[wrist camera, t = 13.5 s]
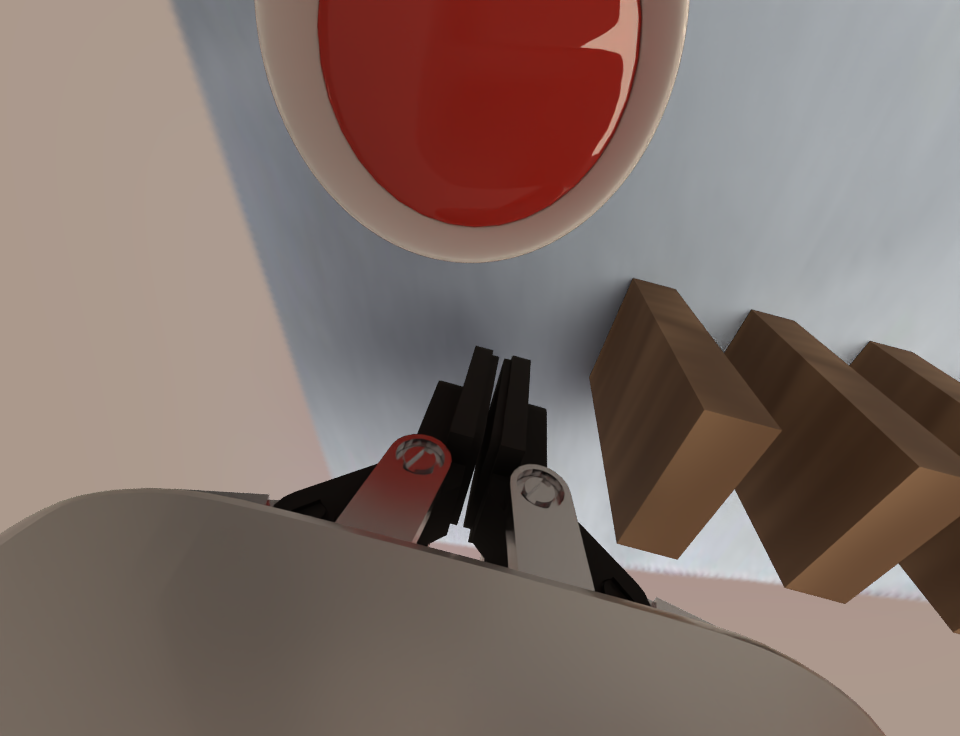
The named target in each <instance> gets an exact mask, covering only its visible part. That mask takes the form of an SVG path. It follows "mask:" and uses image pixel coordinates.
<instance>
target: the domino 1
mask: <svg viewBox="0 0 960 736" xmlns="http://www.w3.org/2000/svg"><path fill="white" fill-rule="evenodd" d="M589 379H590V385H591V391H592V397H593V403H594V409H595V415H596V421H597V427H598V433H599V439H600V445H601V451H602V458H603V464H604V470H605V476H606V482H607V488H608V494H609V500H610V506H611V512H612V518H613V524H614V530H615V536H616V542H617V544H621V545H624V546H628V547H632V548H636V549H639V550H643V551H647V552H651V553H654V554H658V555H662V556H666V557H670V558H673V559H678V558H679V557H680V556H681V554H682V553H683V552H684V551H685V550H686V548H687V547H688V546H689V545H690V543H691V542H692V541H693V540H694V538H695V537H696V536H697V535H698V534H699V532H700V531H701V530H702V529H703V527H704V526H705V525H706V524H707V522H708V521H709V520H710V519H711V518H712V516H713V515H714V514H715V513H716V511H717V510H718V509H719V508H720V506H721V505H722V504H723V503H724V501H725V500H726V499H727V498H728V497H729V495H730V494H731V493H732V492H733V490H734V489H735V488H736V487H737V485H738V484H739V483H740V482H741V481H742V479H743V478H744V477H745V476H746V474H747V473H748V472H749V471H750V469H751V468H752V467H753V466H754V465H755V463H756V462H757V461H758V460H759V458H760V457H761V456H762V455H763V453H764V452H765V451H766V450H767V449H768V447H769V446H770V445H771V444H772V442H773V441H774V440H775V439H776V437H777V436H778V435H779V434H780V433H781V431H782V430H781V428H780V427H779V426H778V424H777V423H776V422H775V420H774V419H773V418H772V416H771V415H770V414H769V412H768V411H767V410H766V408H765V407H764V406H763V404H762V403H761V402H760V400H759V399H758V398H757V396H756V395H755V394H754V392H753V391H752V390H751V388H750V387H749V386H748V385H747V383H746V382H745V381H744V379H743V378H742V377H741V375H740V374H739V373H738V371H737V370H736V369H735V367H734V366H733V365H732V363H731V362H730V361H729V359H728V358H727V357H726V355H725V354H724V353H723V351H722V350H721V349H720V347H719V346H718V345H717V343H716V342H715V341H714V339H713V338H712V337H711V335H710V334H709V333H708V331H707V330H706V329H705V327H704V326H703V325H702V323H701V322H700V321H699V320H698V318H697V317H696V316H695V314H694V313H693V312H692V310H691V309H690V308H689V306H688V305H687V304H686V302H685V301H684V300H683V298H682V297H681V296H680V294H679V293H678V292H677V290H676V289H673V288H669V287H665V286H661V285H658V284H654V283H650V282H646V281H643V280H639V279H635V278H633V279H632V281H631V284H630V286H629V288H628V291H627V293H626V295H625V297H624V300H623V302H622V304H621V306H620V309H619V311H618V313H617V315H616V318H615V320H614V322H613V324H612V327H611V329H610V331H609V334H608V336H607V338H606V340H605V343H604V345H603V347H602V349H601V352H600V354H599V356H598V358H597V361H596V363H595V365H594V368H593V370H592V372H591V374H590V377H589Z"/></svg>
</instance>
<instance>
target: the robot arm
mask: <svg viewBox="0 0 960 736" xmlns="http://www.w3.org/2000/svg"><path fill="white" fill-rule="evenodd" d="M492 354H493V350H490V349H486V348H483V347H479V346H476V347H475V350H474V353H473V356H472V360H471V363H470V366H469V369H468V373H467V376H466V379H465V382H464V386H459V385H455V384H451V383H447V382H444V381H439V382H438V384H437V387H436V389H435V392H434V394H433V397H432V399H431V401H430V404H429V406H428V409H427V411H426V414H425V416H424V419H423V421H422V424H421V426H420V428H419V431H418V433H417V434H412V435H407V436H404V437H401V438H399V439H397V440H396V441H395V442H394V443H393V444H392V445H391V447H390V448H389V449H388V451H387V452H386V453H385V455H384V456H383V457H382V459H381V460H380V462H379V463H378V464H375V465H372V466H369V467H367V468H364V469H361V470H358V471H355V472H352V473H349V474H346V475H343V476H340V477H337V478H334V479H331V480H328V481H326V482H323V483H320V484H317V485H314V486H311V487H308V488H305V489H302V490H299V491H296V492H294V493H292V494H289V495H287V496H285V497H283V498H282V499H281V500H269V495H267V494H251V493H234V492H216V491H201V490H182V489H161V488H141V489H122V490H110V491H104V492H96V493H91V494H86V495H81V496H77V497H73V498H70V499H67V500H64V501H61V502H58V503H56V504H54V505H51V506H49V507H47V508H44V509H42V510H40V511H38V512H37V513H35V514H33V515H31V516H29V517H27V518H25V519H23V520H22V521H20V522H18V523H17V524H15V525H13V526H12V527H10V528H8V529H7V530H6V531H4V532H2V533H1V534H0V736H886V735H885V734H884V732H883V731H882V730H881V729H880V728H879V726H878V725H877V724H876V723H875V722H874V720H873V719H872V718H871V717H870V716H869V715H868V714H867V713H866V712H865V711H864V710H863V709H862V708H861V707H860V706H859V705H858V704H857V703H856V702H855V701H854V700H853V699H851V698H850V697H849V696H848V695H846V694H845V693H844V692H843V691H841V690H840V689H839V688H837V687H836V686H835V685H833V684H832V683H831V682H829V681H828V680H827V679H825V678H823V677H822V676H820V675H819V674H817V673H816V672H814V671H812V670H810V669H809V668H808V667H806V666H804V665H803V664H801V663H800V662H798V661H796V660H795V659H793V658H791V657H788V656H787V655H784V654H783V653H780V652H779V651H777V650H775V649H772V648H771V647H769V646H766V645H765V644H762V643H760V642H757V641H755V640H753V639H750V638H748V637H745V636H743V635H740V634H737V633H735V632H732V631H729V630H726V629H723V628H720V627H716V626H714V625H712V624H710V623H708V622H706V621H704V620H702V619H700V618H698V617H696V616H694V615H692V614H690V613H688V612H686V611H683V610H682V609H680V608H678V607H676V606H673V605H671V604H669V603H667V602H665V601H663V600H661V599H659V598H656V599H655V600H654V601H651V600H649V599H647V597H646V595H645V593H644V591H643V590H642V589H641V588H640V586H639V585H638V584H637V583H636V582H635V581H634V580H633V578H631V576H629V574H627V572H626V571H625V570H624V569H623V568H622V567H621V566H620V565H619V564H618V563H617V562H616V561H615V560H614V559H613V558H612V557H611V556H610V554H609V553H608V552H607V551H606V550H605V549H604V548H603V547H602V546H601V545H600V544H599V543H598V542H597V541H596V540H595V539H594V538H593V537H592V536H591V535H590V534H589V533H588V532H587V530H586V529H585V528H584V527H583V526H582V525H581V524H580V523H579V522H578V520H577V516H576V512H575V508H574V504H573V500H572V496H571V492H570V490H569V487H568V485H567V483H566V482H565V481H564V480H563V478H562V477H561V476H559V475H558V474H557V473H556V472H554V471H553V470H551V469H549V468H547V411H546V409H545V408H542V407H538V406H534V405H530V404H528V398H529V382H530V365H531V360H528V359H524V358H520V357H516V356H512V359H511V360H509V359H504V361H503V365H502V368H501V371H500V375H499V378H498V381H497V385H496V388H495V391H494V395H493V398H492V401H491V396H492V391H493V386H494V381H495V376H496V370H497V365H498V360H499V357H498V356H494V355H492ZM490 401H491V405H490ZM489 406H490V408H489ZM475 465H476V466H475ZM474 468H475V471H474ZM473 471H474V476H473V480H472V485H471V490H470V495H469V500H468V505H467V510H466V515H465V520H464V526H463V527H465V528H469V529H470V535H469V540H468V542H470V543H473V544H474V545H475V547H476V548H477V549H478V551H479V552H480V553H481V557H480V560H476V559H472V558H469V557H465V556H461V555H457V554H453V553H450V552H445V551H442V550H438V549H434V548H430V547H429V545H430V543H432V542H434V541H436V540H438V539H440V538H442V537H444V536H446V535H447V532H448V529H449V525H450V524H454V525H457V524H458V521H459V517H460V514H461V511H462V507H463V504H464V501H465V498H466V494H467V491H468V488H469V484H470V481H471V478H472V475H473Z"/></svg>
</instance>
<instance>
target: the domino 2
mask: <svg viewBox="0 0 960 736" xmlns="http://www.w3.org/2000/svg"><path fill="white" fill-rule="evenodd" d="M724 354H725V355H726V357H727V358H728V359H729V361H730V362H731V363H732V365H733V366H734V367H735V369H736V370H737V371H738V373H739V374H740V375H741V377H742V378H743V379H744V381H745V382H746V383H747V385H748V386H749V387H750V388H751V390H752V391H753V392H754V394H755V395H756V396H757V398H758V399H759V400H760V402H761V403H762V404H763V406H764V407H765V408H766V410H767V411H768V412H769V414H770V415H771V416H772V418H773V419H774V420H775V422H776V423H777V424H778V426H779V427H780V428H781V430H782V431H781V433H780V434H779V435H778V436H777V437H776V439H775V440H774V441H773V442H772V444H771V445H770V446H769V447H768V449H767V450H766V451H765V452H764V453H763V455H762V456H761V457H760V458H759V460H758V461H757V462H756V463H755V465H754V466H753V467H752V468H751V469H750V471H749V472H748V473H747V474H746V476H745V477H744V478H743V479H742V481H741V482H740V483H739V484H738V485H737V487H736V488H735V491H736V493H737V495H738V497H739V499H740V501H741V503H742V505H743V507H744V509H745V511H746V512H747V514H748V516H749V518H750V520H751V522H752V524H753V526H754V528H755V530H756V532H757V534H758V536H759V538H760V540H761V542H762V544H763V546H764V548H765V550H766V552H767V554H768V556H769V558H770V560H771V562H772V564H773V566H774V568H775V570H776V572H777V574H778V576H779V578H780V580H781V582H782V584H783V586H784V588H787V589H791V590H795V591H799V592H803V593H806V594H810V595H814V596H817V597H821V598H825V599H829V600H832V601H836V602H840V603H844V604H846V603H847V602H848V601H850V600H851V599H852V598H854V597H855V596H856V595H858V594H859V593H860V592H861V591H863V590H864V589H865V588H867V587H868V586H869V585H871V584H872V583H873V582H874V581H876V580H877V579H878V578H880V577H881V576H882V575H884V574H885V573H886V572H888V571H889V570H890V569H891V568H893V567H894V566H895V565H897V564H898V563H899V562H901V561H902V560H903V559H905V558H906V557H907V556H908V555H910V554H911V553H912V552H914V551H915V550H916V549H918V548H919V547H920V546H921V545H923V544H924V543H925V542H927V541H928V540H929V539H931V538H932V537H933V536H935V535H936V534H937V533H938V532H940V531H941V530H942V529H944V528H945V527H946V526H948V525H949V524H950V523H952V522H953V521H954V520H955V519H957V518H958V517H959V516H960V456H959V455H957V454H956V453H955V452H954V451H952V450H951V449H950V448H949V447H948V446H946V445H945V444H944V443H943V442H941V441H940V440H939V439H938V438H937V437H935V436H934V435H933V434H932V433H930V432H929V431H928V430H927V429H926V428H924V427H923V426H922V425H921V424H920V423H918V422H917V421H916V420H915V419H913V418H912V417H911V416H910V415H909V414H907V413H906V412H905V411H904V410H902V409H901V408H900V407H899V406H898V405H896V404H895V403H894V402H893V401H891V400H890V399H889V398H888V397H887V396H885V395H884V394H883V393H882V392H880V391H879V390H878V389H877V388H876V387H874V386H873V385H872V384H871V383H870V382H868V381H867V380H866V379H865V378H863V377H862V376H861V375H860V374H859V373H857V372H856V371H855V370H854V369H852V368H851V367H850V366H849V365H848V364H846V363H845V362H844V361H843V360H841V359H840V358H839V357H838V356H837V355H835V354H834V353H833V352H832V351H830V350H829V349H828V348H827V347H826V346H824V345H823V344H822V343H821V342H820V341H818V340H817V339H816V338H815V337H813V336H812V335H811V334H810V333H809V332H807V331H806V330H805V329H804V328H802V327H801V326H800V325H799V324H798V323H796V322H795V321H793V320H789V319H786V318H782V317H778V316H774V315H770V314H767V313H763V312H759V311H755V310H751V311H750V313H749V314H748V316H747V318H746V319H745V321H744V322H743V324H742V326H741V327H740V329H739V330H738V332H737V334H736V335H735V337H734V338H733V340H732V341H731V343H730V345H729V346H728V348H727V349H726V351H725V353H724Z"/></svg>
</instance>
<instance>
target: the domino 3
mask: <svg viewBox="0 0 960 736" xmlns="http://www.w3.org/2000/svg"><path fill="white" fill-rule="evenodd" d="M850 367H851V368H852V369H854V370H855V371H856V372H857V373H859V374H860V375H861V376H862V377H863V378H865V379H866V380H867V381H868V382H870V383H871V384H872V385H873V386H874V387H876V388H877V389H878V390H879V391H880V392H882V393H883V394H884V395H885V396H887V397H888V398H889V399H890V400H891V401H893V402H894V403H895V404H896V405H898V406H899V407H900V408H901V409H902V410H904V411H905V412H906V413H907V414H909V415H910V416H911V417H912V418H913V419H915V420H916V421H917V422H918V423H920V424H921V425H922V426H923V427H924V428H926V429H927V430H928V431H929V432H930V433H932V434H933V435H934V436H935V437H937V438H938V439H939V440H940V441H941V442H943V443H944V444H945V445H946V446H948V447H949V448H950V449H951V450H952V451H954V452H955V453H956V454H957V455H959V456H960V382H958V381H957V380H955V379H954V378H952V377H951V376H949V375H947V374H946V373H944V372H943V371H941V370H940V369H938V368H936V367H935V366H933V365H932V364H930V363H929V362H927V361H926V360H924V359H922V358H921V357H919V356H918V355H916V354H915V353H913V352H910V351H906V350H902V349H898V348H895V347H891V346H887V345H883V344H880V343H876V342H872V341H870V342H869V343H868V344H867V345H866V346H865V348H864V349H863V350H862V351H861V352H860V354H859V355H858V356H857V357H856V358H855V360H854V361H853V362H852V363H851V364H850ZM899 565H900V566H901V567H902V568H903V570H904V571H905V572H906V573H907V575H908V576H909V577H910V579H911V580H912V581H913V582H914V584H915V585H916V586H917V587H918V589H919V590H920V591H921V592H922V594H923V595H924V596H925V597H926V599H927V600H928V601H929V603H930V604H931V605H932V606H933V607H934V609H935V610H936V611H937V612H938V614H939V615H940V616H941V618H942V619H943V620H944V622H945V623H946V624H947V625H948V627H949V628H950V629H951V630H952V632H954V633H958V634H960V516H959V517H958V518H957V519H955V520H954V521H953V522H952V523H950V524H949V525H948V526H946V527H945V528H944V529H942V530H941V531H940V532H938V533H937V534H936V535H935V536H933V537H932V538H931V539H929V540H928V541H927V542H925V543H924V544H923V545H921V546H920V547H919V548H918V549H916V550H915V551H914V552H912V553H911V554H910V555H908V556H907V557H906V558H905V559H903V560H902V561H901V562H899Z"/></svg>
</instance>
